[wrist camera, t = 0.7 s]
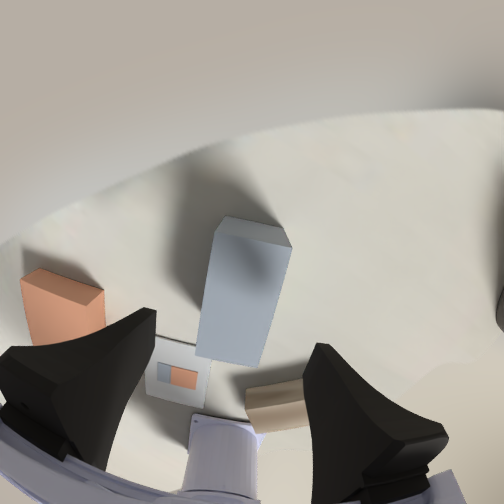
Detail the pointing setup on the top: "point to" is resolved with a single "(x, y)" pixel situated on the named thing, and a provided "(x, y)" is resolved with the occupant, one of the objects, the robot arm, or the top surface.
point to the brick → (276, 407)
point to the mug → (501, 312)
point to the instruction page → (177, 373)
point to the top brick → (241, 290)
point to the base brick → (60, 307)
